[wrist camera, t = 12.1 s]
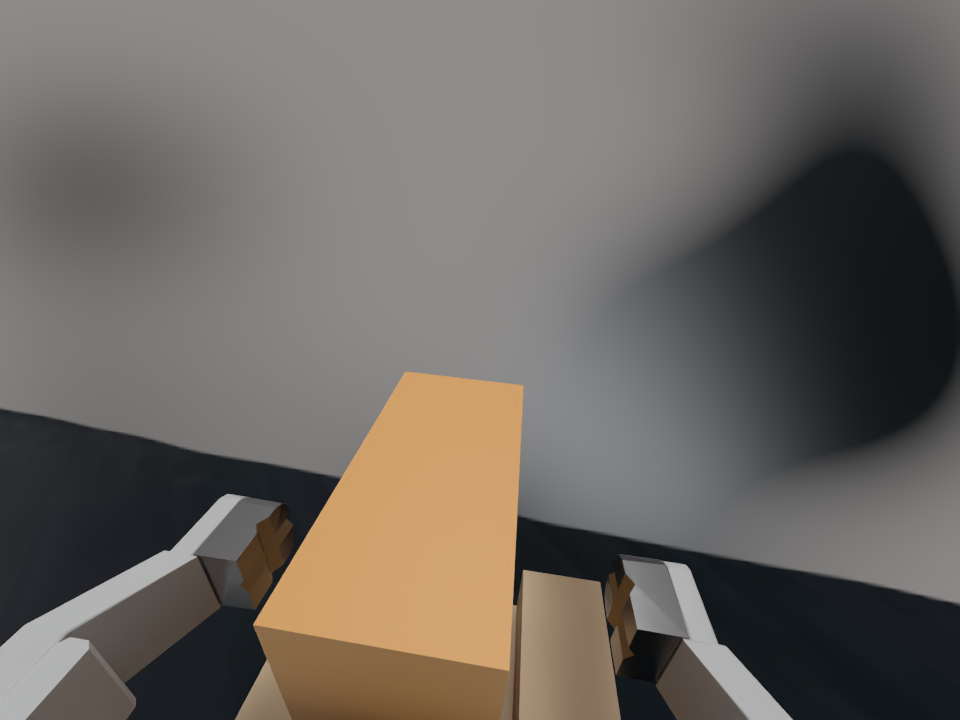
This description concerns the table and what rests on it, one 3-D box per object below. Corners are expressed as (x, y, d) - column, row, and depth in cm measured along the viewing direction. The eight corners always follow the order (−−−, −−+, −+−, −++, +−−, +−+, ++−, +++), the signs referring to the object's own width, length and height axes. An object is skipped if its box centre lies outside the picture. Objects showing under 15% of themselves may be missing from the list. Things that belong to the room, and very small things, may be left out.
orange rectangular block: (354, 872, 10) (252, 624, 4) (415, 628, 15) (405, 371, 10) (465, 898, 10) (509, 670, 4) (489, 641, 15) (523, 385, 9)
